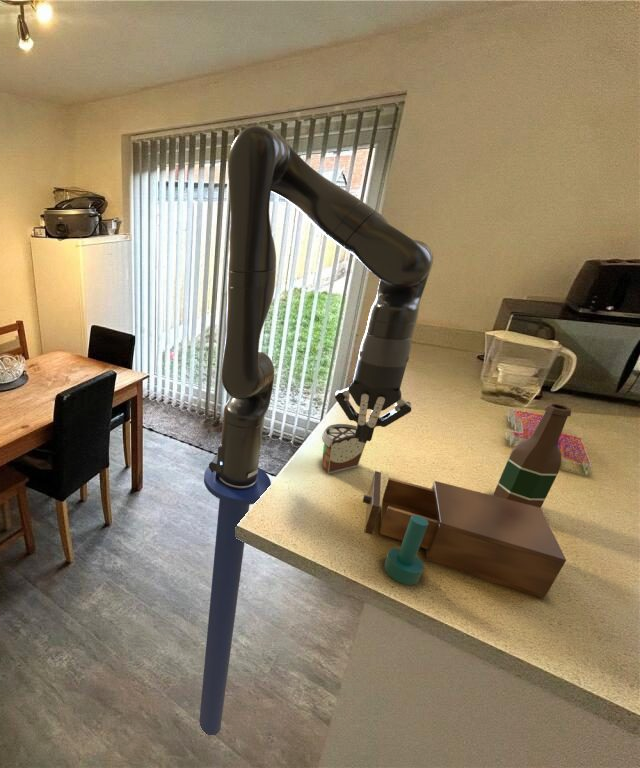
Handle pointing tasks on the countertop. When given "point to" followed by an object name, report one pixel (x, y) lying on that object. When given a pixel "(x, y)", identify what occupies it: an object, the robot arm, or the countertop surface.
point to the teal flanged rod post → (407, 554)
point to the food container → (341, 448)
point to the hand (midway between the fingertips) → (361, 440)
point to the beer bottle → (535, 461)
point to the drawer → (400, 508)
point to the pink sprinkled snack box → (560, 441)
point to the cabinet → (495, 540)
